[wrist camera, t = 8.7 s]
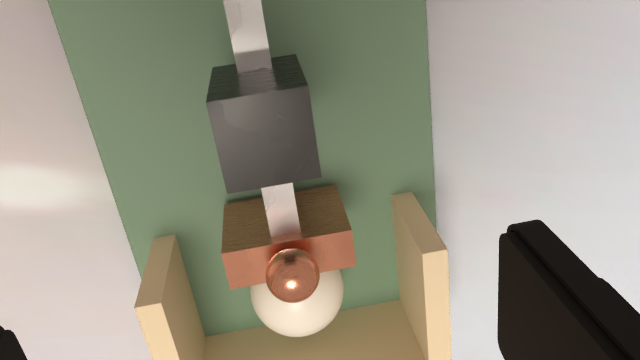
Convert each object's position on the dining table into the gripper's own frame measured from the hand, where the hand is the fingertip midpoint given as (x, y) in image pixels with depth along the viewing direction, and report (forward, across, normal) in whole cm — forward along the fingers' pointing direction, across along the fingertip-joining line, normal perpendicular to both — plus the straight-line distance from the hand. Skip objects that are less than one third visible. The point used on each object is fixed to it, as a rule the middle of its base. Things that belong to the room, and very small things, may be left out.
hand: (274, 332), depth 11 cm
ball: (+16, 0, +11) cm, 19 cm away
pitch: (+19, 0, +1) cm, 19 cm away
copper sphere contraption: (+18, 0, +1) cm, 18 cm away
